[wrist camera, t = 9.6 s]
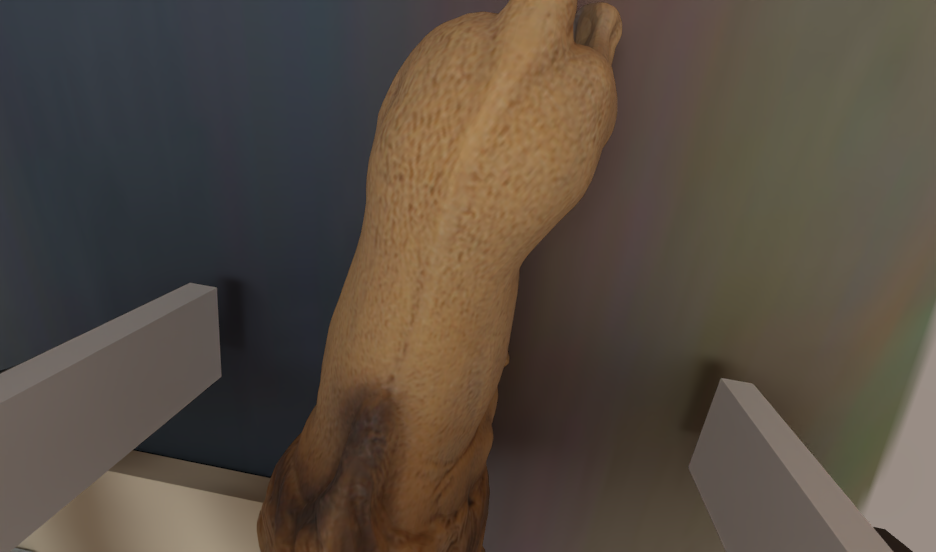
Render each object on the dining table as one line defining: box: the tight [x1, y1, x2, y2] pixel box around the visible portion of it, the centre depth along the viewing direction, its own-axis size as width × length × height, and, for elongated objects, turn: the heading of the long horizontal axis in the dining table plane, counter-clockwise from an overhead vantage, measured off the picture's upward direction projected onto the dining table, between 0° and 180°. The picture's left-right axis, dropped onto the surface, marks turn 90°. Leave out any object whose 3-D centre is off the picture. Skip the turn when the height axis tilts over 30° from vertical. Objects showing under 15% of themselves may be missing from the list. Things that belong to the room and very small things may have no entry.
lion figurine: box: [257, 0, 622, 552], centre depth 8 cm, size 15×5×9 cm, turn 173°
